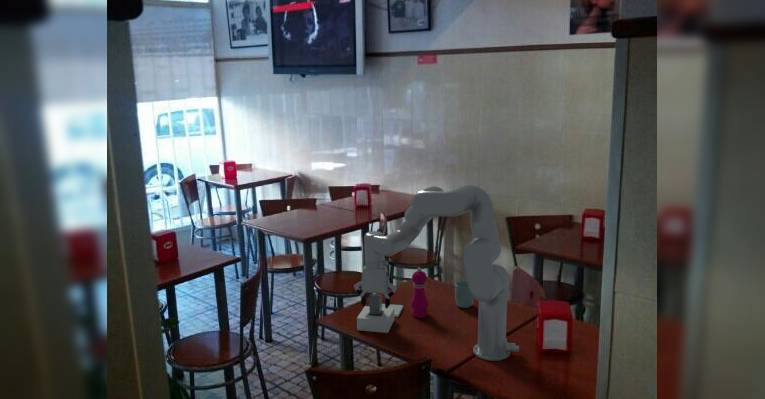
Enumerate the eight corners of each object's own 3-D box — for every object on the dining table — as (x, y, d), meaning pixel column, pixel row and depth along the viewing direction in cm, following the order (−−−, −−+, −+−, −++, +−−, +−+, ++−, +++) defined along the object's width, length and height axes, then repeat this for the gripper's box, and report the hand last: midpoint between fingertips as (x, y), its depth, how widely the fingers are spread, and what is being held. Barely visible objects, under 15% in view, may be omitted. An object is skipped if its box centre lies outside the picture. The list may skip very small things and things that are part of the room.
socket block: (394, 319, 230) (394, 308, 229) (387, 332, 219) (387, 320, 218) (365, 317, 233) (364, 306, 232) (357, 330, 221) (356, 318, 220)
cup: (451, 304, 244) (451, 282, 242) (467, 301, 248) (467, 279, 245) (461, 311, 237) (461, 288, 235) (477, 307, 241) (477, 285, 239)
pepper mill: (428, 311, 238) (428, 264, 234) (428, 318, 231) (428, 270, 227) (411, 310, 239) (410, 264, 235) (410, 318, 232) (409, 270, 228)
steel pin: (382, 323, 227) (381, 294, 225) (380, 327, 224) (379, 298, 221) (372, 322, 228) (371, 293, 226) (369, 326, 224) (369, 297, 222)
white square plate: (403, 307, 242) (403, 305, 242) (398, 317, 233) (398, 314, 233) (379, 305, 245) (379, 303, 244) (374, 315, 235) (374, 312, 235)
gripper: (399, 262, 222) (399, 304, 226) (355, 259, 226) (356, 301, 230) (395, 268, 215) (395, 312, 219) (350, 265, 219) (351, 308, 223)
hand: (375, 306), depth 224 cm, fingers open, 8 cm apart
